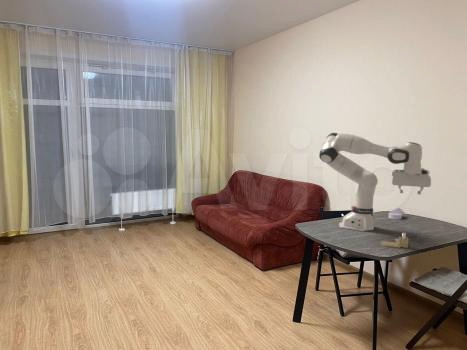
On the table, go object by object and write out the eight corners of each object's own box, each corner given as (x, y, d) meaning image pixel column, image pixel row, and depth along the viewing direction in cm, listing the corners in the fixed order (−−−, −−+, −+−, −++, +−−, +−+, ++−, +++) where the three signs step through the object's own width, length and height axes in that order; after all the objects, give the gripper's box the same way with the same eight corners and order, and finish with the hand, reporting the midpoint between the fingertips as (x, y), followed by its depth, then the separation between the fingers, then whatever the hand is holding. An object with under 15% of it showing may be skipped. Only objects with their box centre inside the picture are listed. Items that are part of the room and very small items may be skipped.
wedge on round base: (392, 215, 273) (386, 217, 263) (393, 206, 272) (387, 209, 262) (404, 217, 267) (399, 220, 257) (405, 208, 266) (399, 211, 256)
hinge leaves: (382, 245, 199) (382, 237, 198) (380, 238, 212) (381, 230, 211) (409, 248, 194) (410, 240, 193) (406, 241, 207) (406, 233, 207)
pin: (401, 246, 197) (402, 233, 196) (400, 245, 199) (401, 232, 198) (405, 247, 197) (406, 233, 195) (404, 246, 198) (405, 232, 197)
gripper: (393, 169, 202) (391, 193, 204) (432, 171, 195) (430, 195, 197) (391, 168, 208) (390, 191, 210) (430, 170, 201) (428, 193, 203)
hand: (410, 193), depth 203 cm, fingers open, 8 cm apart
